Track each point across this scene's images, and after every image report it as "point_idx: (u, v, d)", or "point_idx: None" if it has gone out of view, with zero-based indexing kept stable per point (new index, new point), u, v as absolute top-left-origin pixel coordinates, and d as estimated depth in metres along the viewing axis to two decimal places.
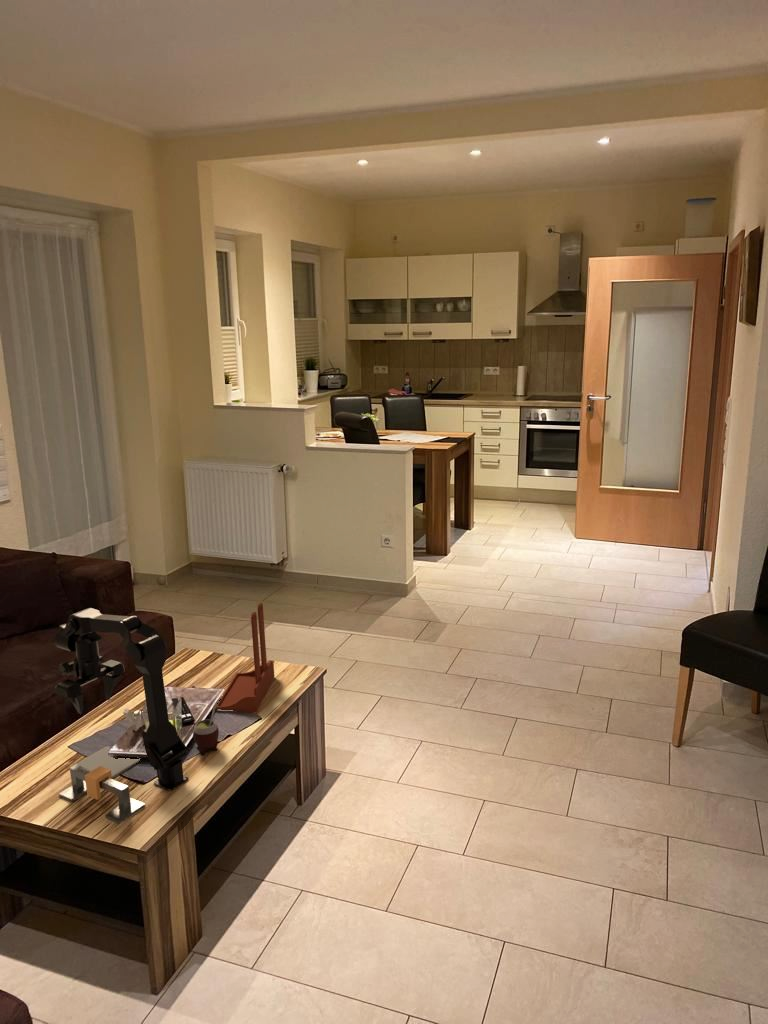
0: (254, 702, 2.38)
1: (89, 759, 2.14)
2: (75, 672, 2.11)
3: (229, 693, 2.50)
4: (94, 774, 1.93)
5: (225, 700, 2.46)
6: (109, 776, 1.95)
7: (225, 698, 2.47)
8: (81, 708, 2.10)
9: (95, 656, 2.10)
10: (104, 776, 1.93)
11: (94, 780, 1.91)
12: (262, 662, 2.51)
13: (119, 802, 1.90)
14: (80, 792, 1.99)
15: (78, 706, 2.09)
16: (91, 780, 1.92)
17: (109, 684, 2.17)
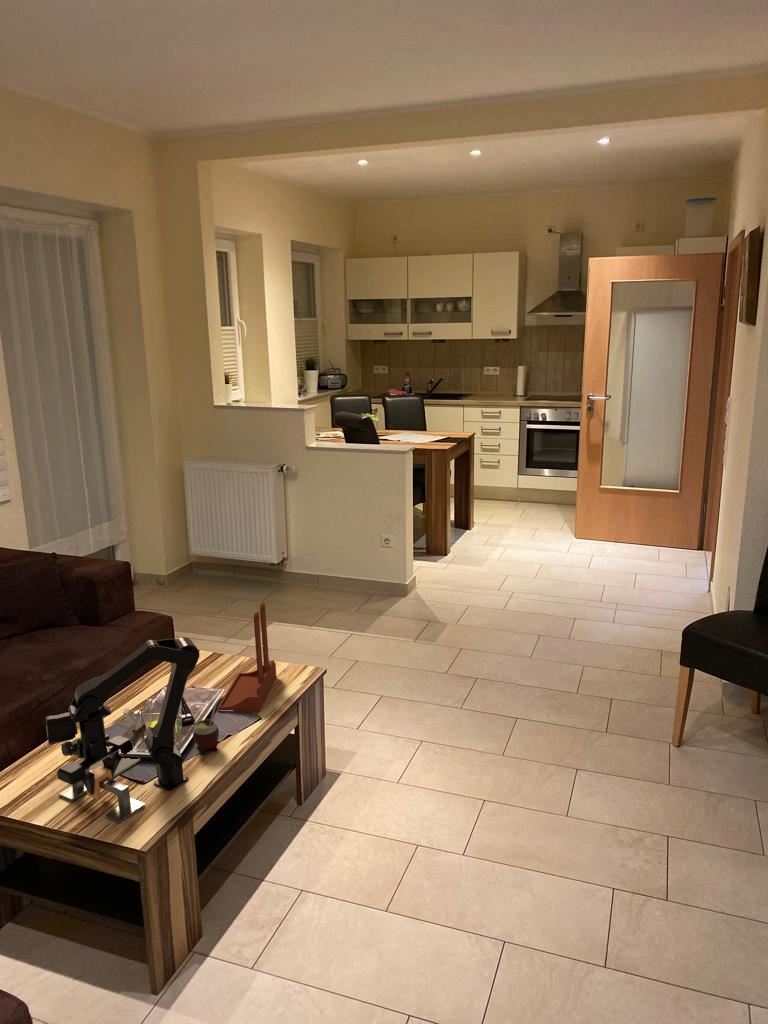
0: (257, 702, 2.38)
1: None
2: (79, 753, 1.91)
3: (232, 693, 2.50)
4: (94, 774, 1.93)
5: (227, 700, 2.45)
6: (109, 776, 1.95)
7: (227, 698, 2.47)
8: (92, 789, 1.92)
9: (100, 736, 1.90)
10: (104, 776, 1.93)
11: (94, 780, 1.91)
12: (264, 662, 2.50)
13: (119, 802, 1.90)
14: (80, 792, 1.99)
15: (89, 787, 1.91)
16: None
17: (110, 767, 1.96)
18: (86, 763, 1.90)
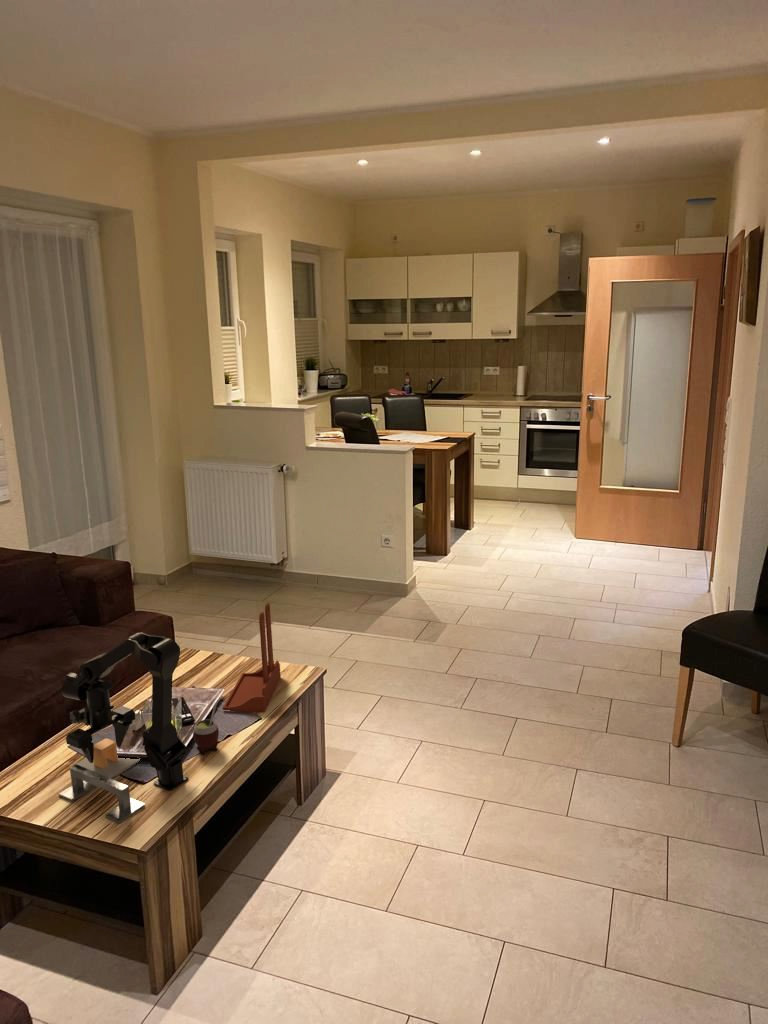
0: (262, 702, 2.38)
1: None
2: (86, 720, 2.08)
3: (236, 693, 2.50)
4: (100, 745, 2.10)
5: (232, 700, 2.45)
6: (114, 747, 2.12)
7: (232, 698, 2.46)
8: (92, 757, 2.07)
9: (106, 705, 2.07)
10: (109, 747, 2.10)
11: (100, 750, 2.08)
12: (269, 662, 2.50)
13: (119, 802, 1.90)
14: (80, 792, 1.99)
15: (89, 755, 2.06)
16: (98, 750, 2.09)
17: (120, 731, 2.14)
18: (92, 730, 2.07)
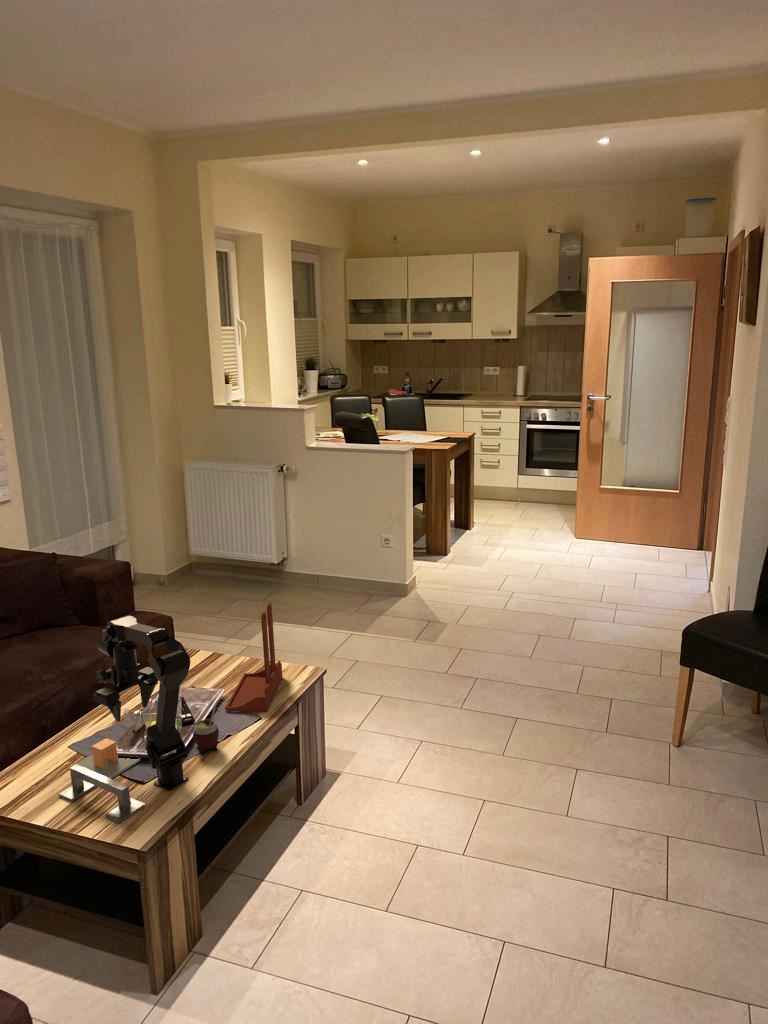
0: (265, 702, 2.38)
1: (89, 759, 2.14)
2: (113, 680, 2.09)
3: (239, 694, 2.50)
4: (100, 745, 2.10)
5: (235, 701, 2.45)
6: (114, 747, 2.12)
7: (235, 699, 2.46)
8: (119, 716, 2.08)
9: (133, 664, 2.08)
10: (109, 747, 2.10)
11: (100, 750, 2.08)
12: (271, 662, 2.50)
13: (119, 802, 1.90)
14: (80, 792, 1.99)
15: (116, 714, 2.07)
16: (98, 750, 2.09)
17: (146, 691, 2.15)
18: (119, 688, 2.08)
